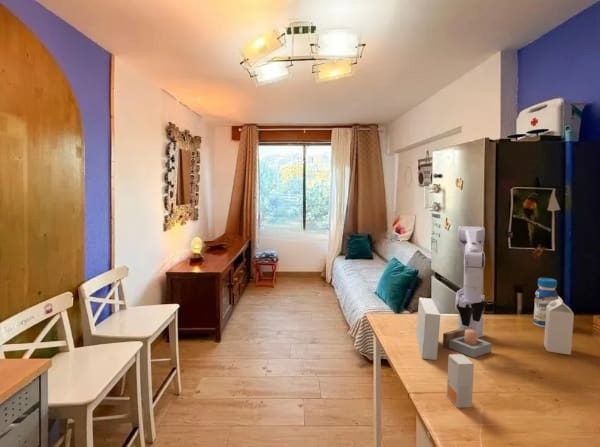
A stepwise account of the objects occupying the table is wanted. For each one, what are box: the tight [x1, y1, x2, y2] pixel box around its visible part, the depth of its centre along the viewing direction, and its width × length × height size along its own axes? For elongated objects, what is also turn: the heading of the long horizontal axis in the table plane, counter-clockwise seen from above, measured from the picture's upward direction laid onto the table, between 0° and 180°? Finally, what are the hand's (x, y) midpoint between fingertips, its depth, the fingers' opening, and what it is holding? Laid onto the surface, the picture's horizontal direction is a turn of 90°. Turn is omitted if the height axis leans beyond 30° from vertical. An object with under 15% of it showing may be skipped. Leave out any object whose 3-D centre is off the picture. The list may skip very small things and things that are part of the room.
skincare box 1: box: [415, 297, 441, 361], centre depth 137 cm, size 21×5×16 cm, turn 168°
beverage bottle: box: [533, 277, 559, 328], centre depth 163 cm, size 8×8×20 cm
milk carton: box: [543, 295, 575, 356], centre depth 137 cm, size 7×7×19 cm
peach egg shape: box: [464, 329, 477, 346], centre depth 136 cm, size 4×4×7 cm
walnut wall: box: [442, 328, 466, 349], centre depth 141 cm, size 12×2×5 cm, turn 121°
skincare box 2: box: [446, 353, 475, 409], centre depth 102 cm, size 6×4×12 cm
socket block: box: [448, 335, 493, 359], centre depth 136 cm, size 10×10×3 cm
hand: (471, 323), depth 135 cm, fingers open, 7 cm apart
